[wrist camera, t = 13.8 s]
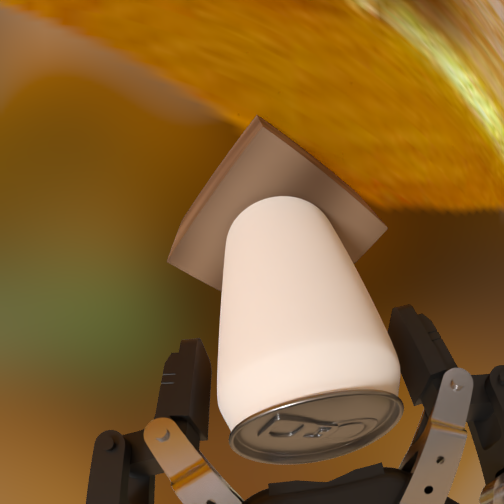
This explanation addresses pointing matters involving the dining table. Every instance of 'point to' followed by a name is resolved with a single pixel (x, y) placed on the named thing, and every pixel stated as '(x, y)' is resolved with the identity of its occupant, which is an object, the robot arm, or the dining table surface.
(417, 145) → the dining table surface
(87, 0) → the dining table surface
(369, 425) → the can
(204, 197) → the walnut block
